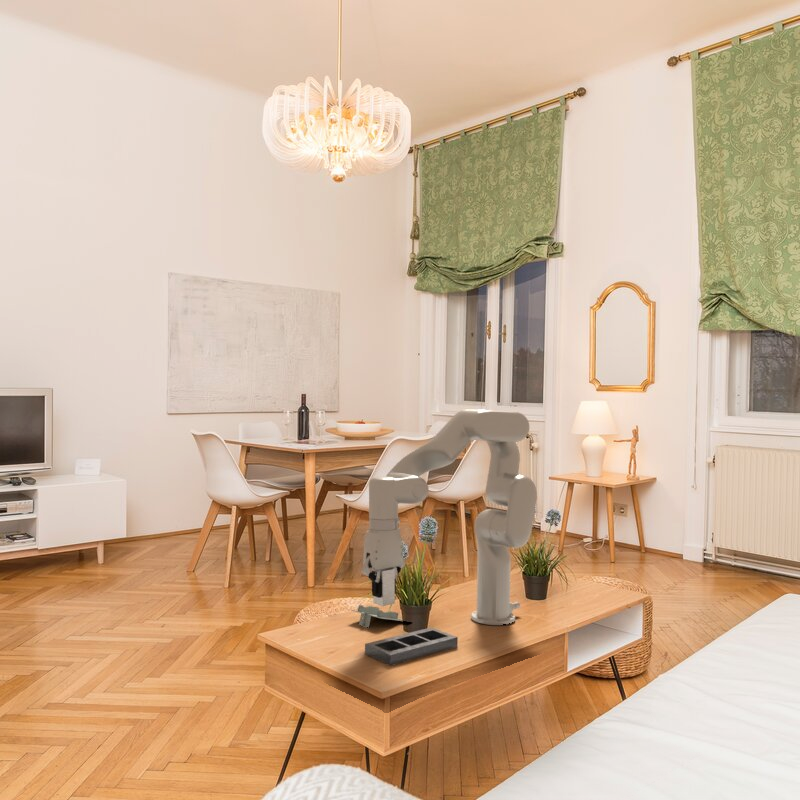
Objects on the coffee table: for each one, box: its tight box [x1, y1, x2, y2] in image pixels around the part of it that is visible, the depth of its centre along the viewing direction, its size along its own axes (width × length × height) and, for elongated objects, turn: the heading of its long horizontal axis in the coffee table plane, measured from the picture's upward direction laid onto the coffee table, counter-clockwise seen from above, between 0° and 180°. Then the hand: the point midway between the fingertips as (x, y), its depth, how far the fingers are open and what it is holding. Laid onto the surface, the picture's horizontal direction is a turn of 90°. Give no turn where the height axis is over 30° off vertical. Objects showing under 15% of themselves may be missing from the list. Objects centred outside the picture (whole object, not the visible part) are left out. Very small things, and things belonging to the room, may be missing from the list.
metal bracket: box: [351, 604, 403, 629], centre depth 204 cm, size 14×6×15 cm
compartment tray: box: [364, 627, 458, 667], centre depth 181 cm, size 22×10×2 cm, turn 130°
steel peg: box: [372, 568, 396, 607], centre depth 188 cm, size 4×4×9 cm
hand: (383, 594), depth 188 cm, fingers closed on steel peg, 4 cm apart
